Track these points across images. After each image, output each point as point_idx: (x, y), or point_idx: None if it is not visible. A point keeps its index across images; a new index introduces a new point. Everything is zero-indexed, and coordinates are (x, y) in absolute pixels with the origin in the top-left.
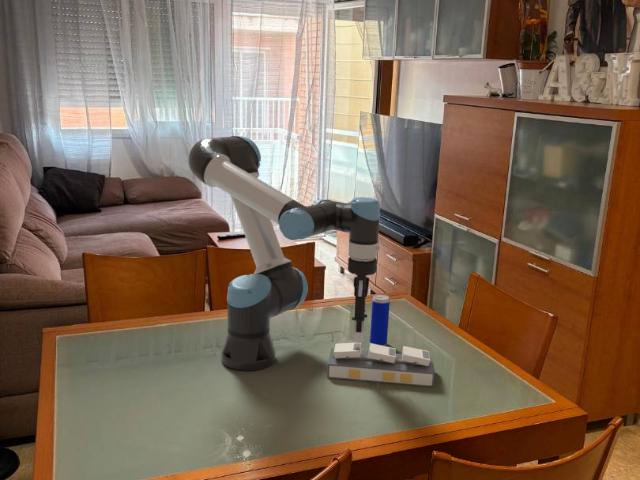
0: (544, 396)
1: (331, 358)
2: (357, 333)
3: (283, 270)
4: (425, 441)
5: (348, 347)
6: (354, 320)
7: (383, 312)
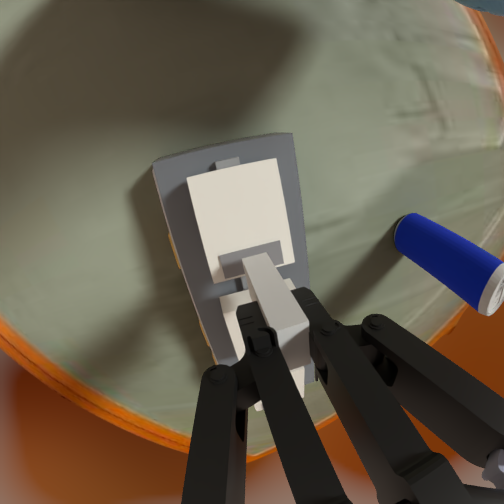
0: (263, 450)
1: (203, 158)
2: (254, 298)
3: None
4: (59, 389)
5: (241, 226)
6: (208, 368)
7: (457, 290)
